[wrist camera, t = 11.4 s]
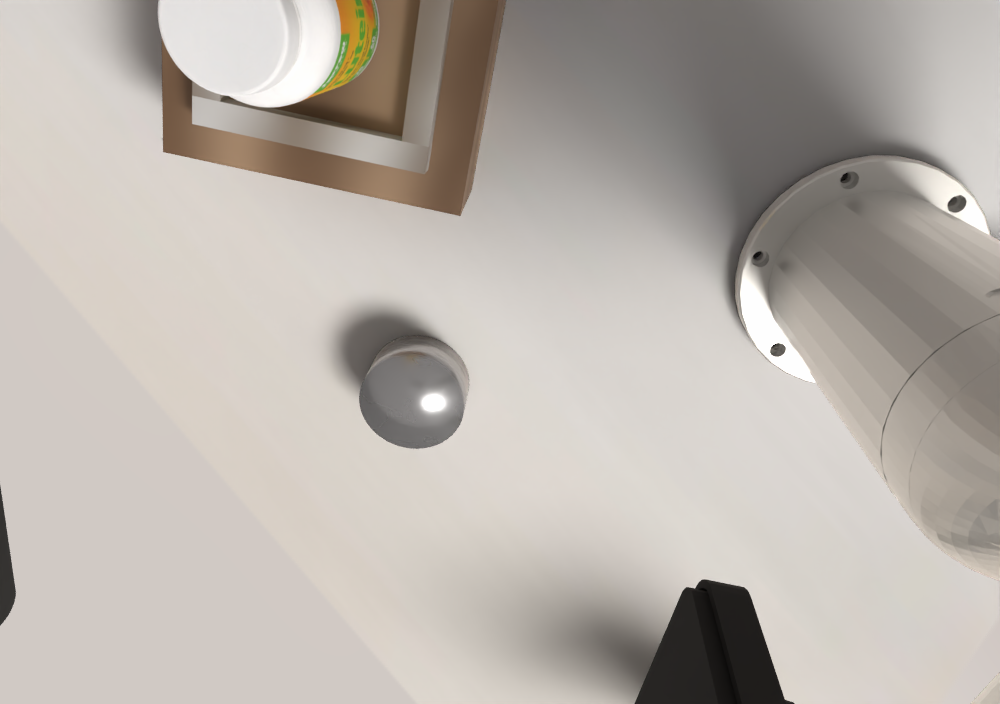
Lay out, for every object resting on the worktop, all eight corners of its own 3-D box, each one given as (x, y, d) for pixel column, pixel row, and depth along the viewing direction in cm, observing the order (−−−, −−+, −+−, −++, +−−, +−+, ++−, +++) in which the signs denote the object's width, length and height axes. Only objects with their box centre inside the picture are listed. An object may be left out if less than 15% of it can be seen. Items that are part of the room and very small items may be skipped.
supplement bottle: (376, 98, 31) (307, 135, 22) (254, 76, 31) (138, 104, 22) (387, -41, 29) (315, -60, 20) (256, -65, 29) (126, -94, 20)
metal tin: (477, 345, 42) (472, 369, 39) (460, 430, 45) (454, 457, 42) (377, 325, 42) (365, 347, 39) (366, 410, 44) (354, 437, 42)
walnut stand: (527, -118, 32) (522, -143, 26) (471, 190, 38) (457, 221, 32) (215, -189, 31) (144, -230, 26) (210, 134, 37) (152, 156, 32)
